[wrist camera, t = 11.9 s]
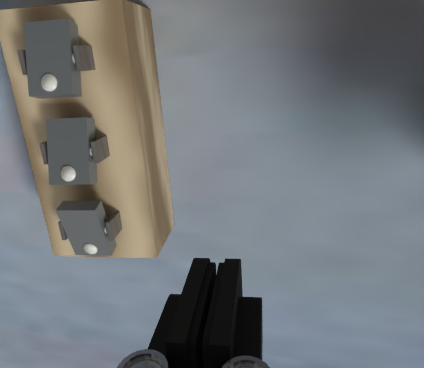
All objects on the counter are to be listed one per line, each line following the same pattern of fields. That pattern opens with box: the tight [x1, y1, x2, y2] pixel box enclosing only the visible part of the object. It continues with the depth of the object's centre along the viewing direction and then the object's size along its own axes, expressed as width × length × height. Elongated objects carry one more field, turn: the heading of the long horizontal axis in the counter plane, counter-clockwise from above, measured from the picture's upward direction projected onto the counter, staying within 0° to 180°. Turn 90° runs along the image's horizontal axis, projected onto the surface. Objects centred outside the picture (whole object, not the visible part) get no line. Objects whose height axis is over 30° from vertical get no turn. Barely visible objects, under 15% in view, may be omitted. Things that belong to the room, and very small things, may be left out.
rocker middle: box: [46, 117, 98, 185], centre depth 32 cm, size 4×6×2 cm
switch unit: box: [0, 0, 174, 258], centre depth 37 cm, size 12×25×11 cm, turn 4°
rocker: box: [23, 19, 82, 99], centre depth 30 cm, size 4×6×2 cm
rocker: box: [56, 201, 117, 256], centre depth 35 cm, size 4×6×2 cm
